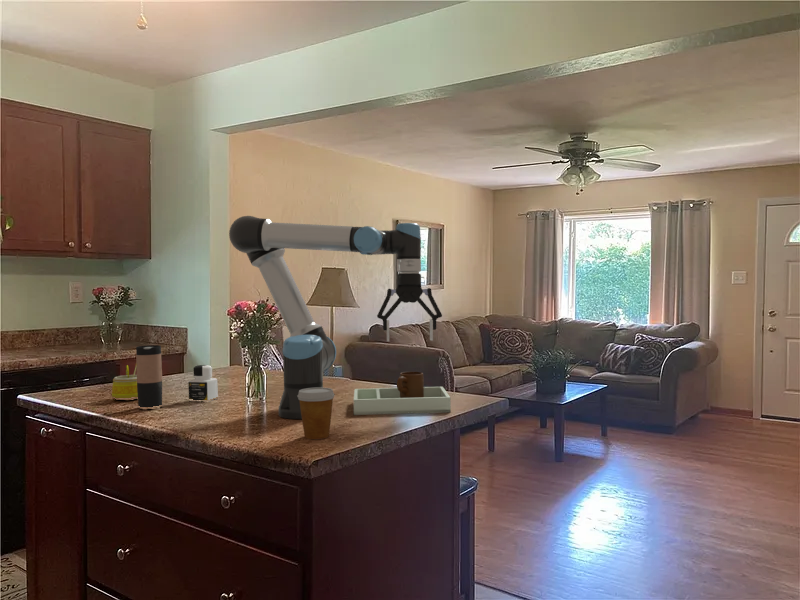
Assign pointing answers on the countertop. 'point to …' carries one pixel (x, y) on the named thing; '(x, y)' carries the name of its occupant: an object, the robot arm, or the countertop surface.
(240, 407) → the countertop surface
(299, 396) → the disposable coffee cup
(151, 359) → the travel mug
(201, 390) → the medicine bottle
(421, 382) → the mug
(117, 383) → the yellow birthday cake
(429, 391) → the box
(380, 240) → the robot arm
